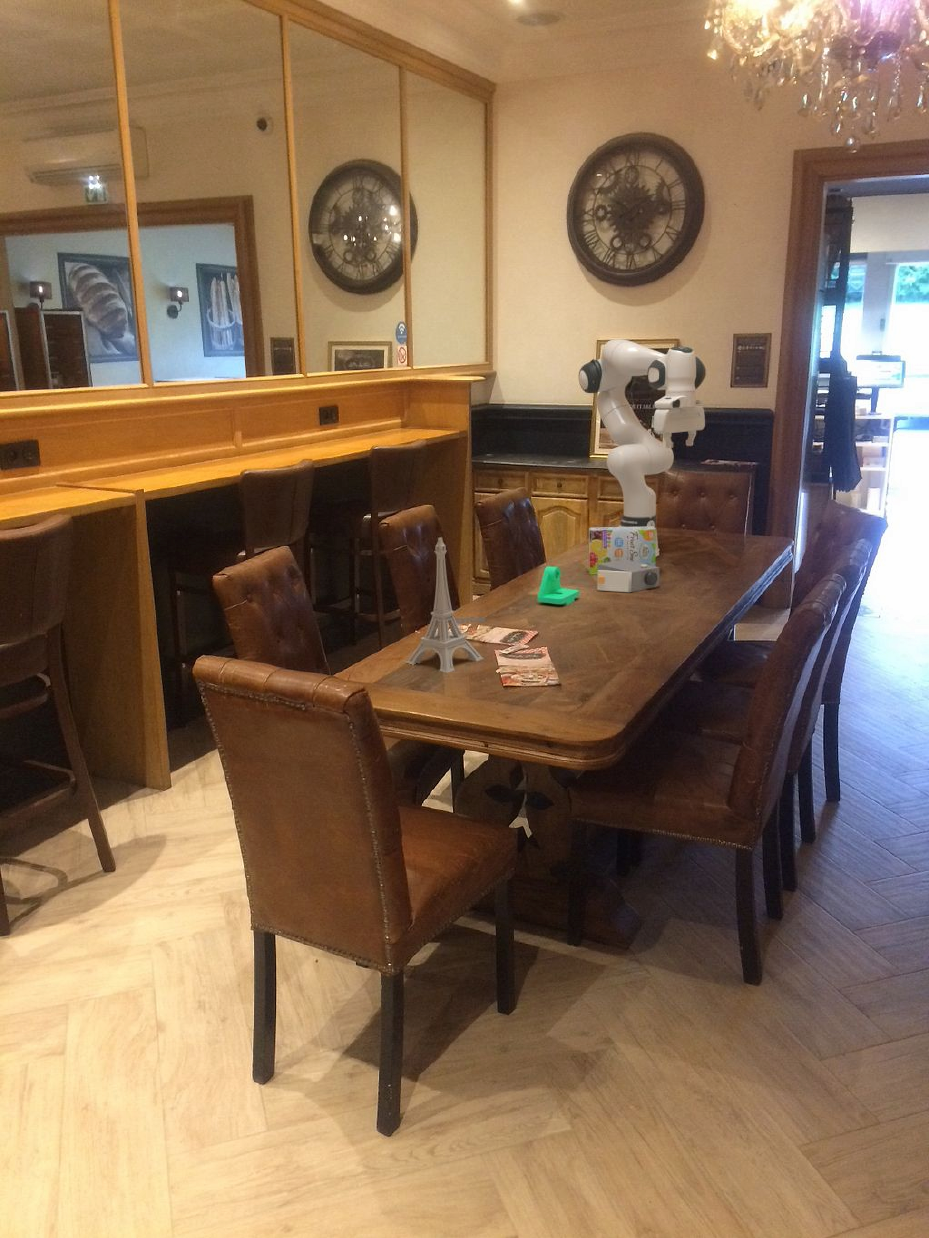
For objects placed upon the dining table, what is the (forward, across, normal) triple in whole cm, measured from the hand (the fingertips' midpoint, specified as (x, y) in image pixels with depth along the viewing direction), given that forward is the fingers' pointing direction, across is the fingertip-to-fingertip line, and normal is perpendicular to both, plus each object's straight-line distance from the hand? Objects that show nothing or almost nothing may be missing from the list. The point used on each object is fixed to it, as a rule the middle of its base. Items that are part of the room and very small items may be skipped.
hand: (679, 446), depth 307 cm
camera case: (+41, +21, -2) cm, 46 cm away
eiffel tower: (+42, +110, +21) cm, 119 cm away
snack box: (+41, +10, -15) cm, 45 cm away
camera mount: (+41, +50, -2) cm, 65 cm away
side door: (+41, +30, +2) cm, 51 cm away
